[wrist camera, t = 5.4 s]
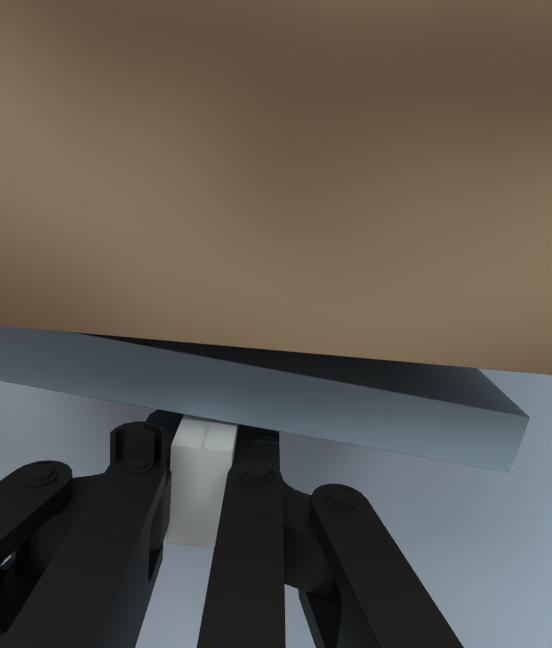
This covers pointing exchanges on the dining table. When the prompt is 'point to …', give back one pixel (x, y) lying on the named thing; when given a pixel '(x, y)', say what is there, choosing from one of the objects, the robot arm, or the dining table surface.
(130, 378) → the door
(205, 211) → the cabinet
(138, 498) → the robot arm
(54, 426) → the dining table surface
